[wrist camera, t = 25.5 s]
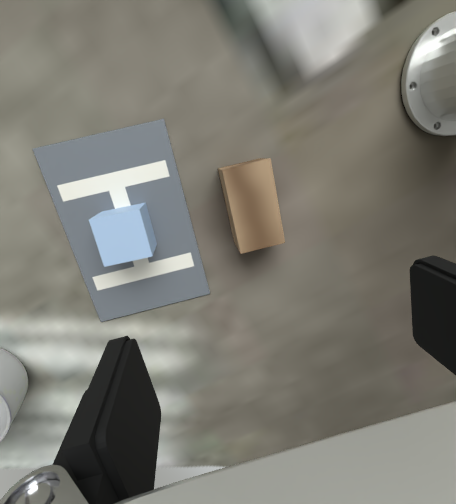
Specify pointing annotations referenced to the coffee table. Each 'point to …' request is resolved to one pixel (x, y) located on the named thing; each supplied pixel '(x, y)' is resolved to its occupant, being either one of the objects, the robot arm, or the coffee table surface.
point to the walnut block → (252, 204)
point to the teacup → (10, 389)
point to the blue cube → (124, 234)
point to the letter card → (121, 195)
